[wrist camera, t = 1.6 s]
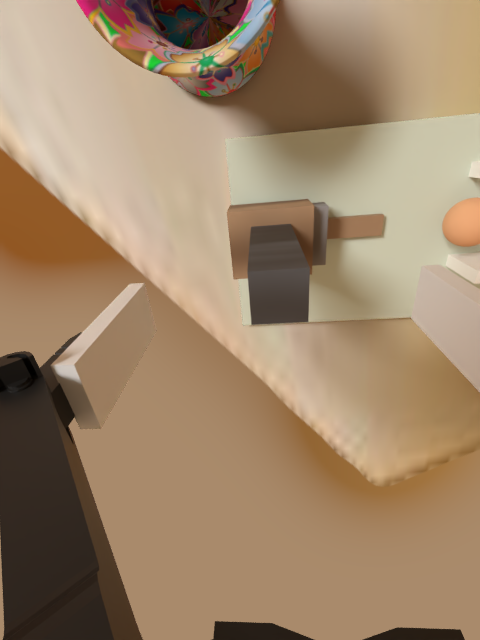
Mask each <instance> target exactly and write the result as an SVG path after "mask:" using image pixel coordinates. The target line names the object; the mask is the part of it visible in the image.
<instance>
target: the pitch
mask: <svg viewBox="0 0 480 640" xmlns="http://www.w3.org/2000/svg"><path fill="white" fill-rule="evenodd" d="M225 144H226V155H227V165H228V176H229V187H230V197H231V205H240V204H252V203H264V202H276V201H288V200H301V199H309V201H310V202H311V203H317V202H325V203H326V204H327V205H328V206H329V210H328V228H327V247H326V265H316V266H312V275H310V282H309V318H308V322H327V321H347V320H368V319H388V318H409V317H411V316H412V311H413V306H414V301H415V296H416V292H417V287H418V282H419V277H420V272H421V268H422V266H424V265H441V266H443V267H444V268H446V269H448V270H449V271H451V272H452V273H454V274H456V275H457V276H459V277H461V278H462V279H464V280H465V281H467V282H469V283H470V284H472V285H474V286H475V287H477V288H478V289H480V283H479V284H474V283H472V282H471V281H469V280H468V279H466V278H464V277H463V276H461V275H460V274H458V273H456V272H455V271H453V270H452V269H450V268H448V267H447V266H446V262H447V258H448V254H463V253H478V252H480V244H478V245H475V246H469V247H463V246H458V245H455V244H453V243H451V242H450V241H448V240H447V239H446V237H445V236H444V234H443V230H442V223H443V219H444V217H445V215H446V213H447V212H448V211H449V209H450V208H452V207H453V206H454V205H455V204H457V203H458V202H460V201H462V200H465V199H469V198H477V197H478V198H480V178H475V177H468V176H469V172H470V168H471V165H472V162H474V161H480V113H476V114H466V115H456V116H447V117H437V118H427V119H417V120H407V121H397V122H388V123H378V124H368V125H358V126H348V127H338V128H328V129H319V130H309V131H299V132H289V133H279V134H269V135H260V136H250V137H240V138H230V139H225ZM238 282H239V292H240V303H241V314H242V324H243V326H245V325H251V312H250V300H249V287H248V279H238ZM301 323H307V322H301ZM280 324H286V323H280ZM260 325H266V324H260Z"/></svg>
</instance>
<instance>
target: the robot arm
mask: <svg viewBox="0 0 480 640" xmlns="http://www.w3.org/2000/svg"><path fill="white" fill-rule="evenodd" d="M411 319H412V320H413V321H414V322H415V323H416V324H417V326H418V327H419V328H420V329H421V330H422V331H423V332H424V333H425V334H426V335H427V336H428V337H429V338H430V340H431V341H432V342H433V343H434V344H435V345H436V346H437V347H438V348H439V349H440V350H441V351H442V352H443V354H444V355H445V356H446V357H447V358H448V359H449V360H450V361H451V362H452V363H453V364H454V365H455V366H456V368H457V369H458V370H459V371H460V372H461V373H462V374H463V375H464V376H465V377H466V378H467V379H468V381H469V382H470V383H471V384H472V385H473V386H474V387H475V388H476V389H477V390H478V391H479V392H480V289H478V288H477V287H475V286H474V285H472V284H470V283H469V282H467V281H465V280H464V279H462V278H461V277H459V276H457V275H456V274H454V273H452V272H451V271H449V270H448V269H446V268H444V267H443V266H441V265H424V266H422V268H421V272H420V277H419V282H418V287H417V292H416V296H415V301H414V306H413V311H412V316H411ZM156 331H157V330H156V326H155V322H154V319H153V314H152V310H151V307H150V302H149V298H148V294H147V290H146V286H145V283H139V284H129V285H128V286H127V287H126V288H125V289H124V290H123V291H122V292H121V294H120V295H119V296H118V297H117V298H116V299H115V300H114V301H113V302H112V303H111V304H110V305H109V306H108V307H107V308H106V309H105V310H104V311H103V312H102V313H101V314H100V315H99V316H98V317H97V318H96V319H95V320H94V321H93V322H92V323H91V324H90V325H89V326H88V327H87V328H86V329H85V330H84V331H83V332H81V333H79V334H77V335H75V336H74V337H72V338H70V339H69V340H68V341H67V342H66V343H65V344H64V345H63V346H62V347H61V348H60V349H59V350H58V351H57V352H56V353H55V355H53V356H52V357H51V358H50V359H49V360H48V361H47V362H46V363H45V364H44V365H43V366H42V367H40V368H39V366H38V364H37V362H36V361H35V358H34V356H33V355H32V354H31V353H30V352H25V351H24V352H15V353H12V354H8V355H5V356H3V357H0V535H1V555H2V556H1V559H2V582H3V603H4V605H3V606H4V637H3V640H143V639H142V637H141V635H140V632H139V629H138V626H137V623H136V621H135V618H134V615H133V612H132V609H131V606H130V603H129V600H128V597H127V594H126V592H125V588H124V585H123V582H122V579H121V576H120V574H119V571H118V568H117V565H116V562H115V559H114V556H113V553H112V550H111V547H110V544H109V541H108V538H107V535H106V533H105V530H104V527H103V524H102V521H101V518H100V515H99V512H98V509H97V506H96V503H95V500H94V497H93V494H92V491H91V488H90V485H89V482H88V480H87V477H86V474H85V471H84V468H83V465H82V462H81V459H80V456H79V453H78V450H77V448H76V445H75V441H74V438H73V436H72V433H71V431H70V429H69V427H68V425H69V424H70V422H71V421H72V420H73V418H74V417H75V419H76V421H77V423H78V425H79V427H80V429H101V428H102V426H103V425H104V423H105V421H106V419H107V418H108V416H109V414H110V412H111V411H112V409H113V407H114V405H115V403H116V402H117V400H118V398H119V396H120V395H121V393H122V391H123V389H124V388H125V386H126V384H127V382H128V380H129V379H130V377H131V375H132V374H133V372H134V370H135V368H136V366H137V365H138V363H139V361H140V359H141V358H142V356H143V354H144V352H145V351H146V349H147V347H148V345H149V343H150V342H151V340H152V338H153V336H154V335H155V333H156ZM212 640H313V639H311V638H308V637H306V636H303V635H301V634H298V633H296V632H293V631H291V630H288V629H285V628H283V627H280V626H278V625H275V624H273V623H249V622H248V623H247V622H219V621H215V627H214V639H212ZM364 640H465V639H464V637H463V635H462V632H461V630H455V629H425V628H395V629H392V630H389V631H386V632H383V633H381V634H378V635H375V636H372V637H369V638H367V639H364Z"/></svg>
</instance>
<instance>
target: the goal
mask: <svg viewBox="0 0 480 640" xmlns="http://www.w3.org/2000/svg"><path fill="white" fill-rule="evenodd" d="M468 177H475V178H480V161H474V162H472V165H471V168H470V172H469V176H468ZM446 266H447V267H448V268H450V269H452V270H453V271H455V272H456V273H458V274H460V275H461V276H463V277H464V278H466V279H468V280H469V281H471V282H472V283H474V284H479V283H480V252H478V253H463V254H448V258H447V262H446Z"/></svg>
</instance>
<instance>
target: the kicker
mask: <svg viewBox="0 0 480 640" xmlns="http://www.w3.org/2000/svg"><path fill="white" fill-rule="evenodd" d="M328 210H329V206H328V205H327V204H326V203H325V202H317V203H311V202H310V201H309V199H301V200H288V201H276V202H264V203H252V204H240V205H230V207H229V209H228V211H227V218H228V228H229V238H230V247H231V257H232V267H233V277H234V279H248V287H249V300H250V312H251V325H260V324H280V323H301V322H308V318H309V282H310V275H312V266H316V265H326V247H327V228H328Z"/></svg>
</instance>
